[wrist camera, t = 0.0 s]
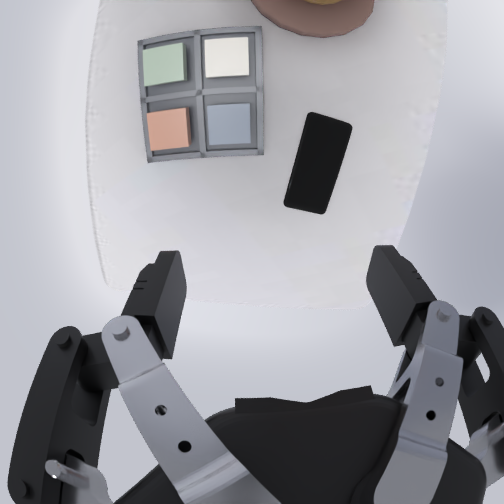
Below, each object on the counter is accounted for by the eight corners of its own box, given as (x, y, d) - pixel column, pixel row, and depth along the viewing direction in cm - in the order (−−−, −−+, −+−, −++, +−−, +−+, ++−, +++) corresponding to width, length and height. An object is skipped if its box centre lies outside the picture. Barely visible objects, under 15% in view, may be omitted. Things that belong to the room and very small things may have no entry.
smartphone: (282, 206, 41) (308, 111, 33) (282, 204, 42) (307, 110, 33) (324, 215, 42) (354, 125, 34) (323, 213, 42) (352, 124, 34)
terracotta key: (151, 112, 30) (146, 113, 28) (188, 106, 30) (185, 107, 28) (155, 147, 33) (150, 150, 31) (191, 143, 33) (188, 146, 31)
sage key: (148, 51, 25) (142, 50, 24) (186, 45, 25) (182, 42, 24) (149, 86, 28) (144, 86, 26) (187, 80, 28) (183, 79, 26)
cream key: (206, 42, 25) (204, 39, 24) (248, 40, 25) (248, 37, 24) (208, 78, 28) (205, 77, 26) (248, 76, 28) (249, 75, 26)
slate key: (209, 104, 30) (207, 105, 28) (249, 102, 30) (249, 103, 28) (211, 142, 33) (209, 145, 31) (250, 140, 33) (250, 143, 31)
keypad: (143, 43, 26) (137, 41, 25) (260, 29, 26) (261, 26, 25) (152, 158, 36) (147, 162, 35) (262, 151, 36) (263, 155, 35)
